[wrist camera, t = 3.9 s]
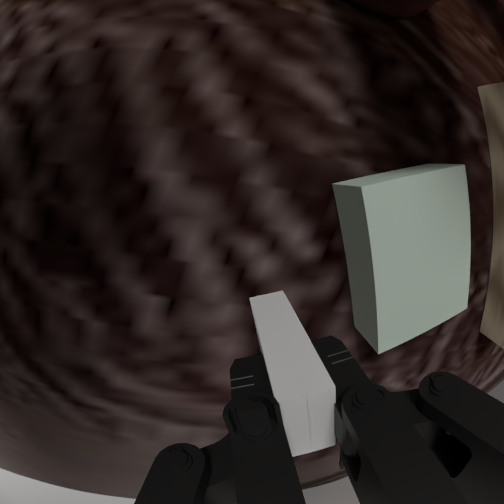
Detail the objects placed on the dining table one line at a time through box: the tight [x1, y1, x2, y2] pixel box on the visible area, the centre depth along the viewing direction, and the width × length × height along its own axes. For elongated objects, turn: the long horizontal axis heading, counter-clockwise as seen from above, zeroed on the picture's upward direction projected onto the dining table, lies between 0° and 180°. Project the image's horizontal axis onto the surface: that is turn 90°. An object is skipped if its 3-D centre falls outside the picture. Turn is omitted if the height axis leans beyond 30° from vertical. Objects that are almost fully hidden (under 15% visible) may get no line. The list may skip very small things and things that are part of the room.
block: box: [332, 164, 471, 354], centre depth 16 cm, size 10×8×4 cm
